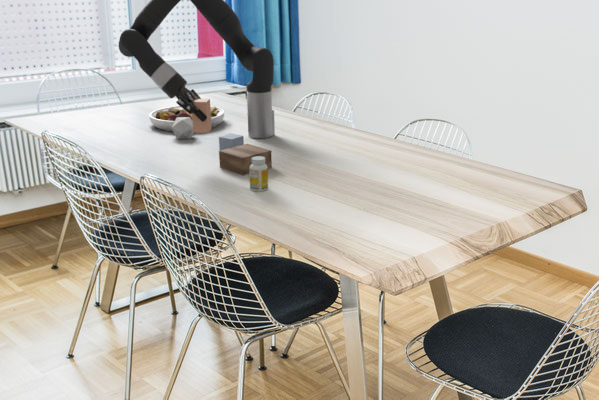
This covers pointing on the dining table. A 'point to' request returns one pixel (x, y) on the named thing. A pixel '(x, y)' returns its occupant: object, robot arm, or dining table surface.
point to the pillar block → (197, 123)
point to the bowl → (168, 116)
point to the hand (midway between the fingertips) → (207, 117)
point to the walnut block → (242, 158)
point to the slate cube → (230, 141)
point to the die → (183, 128)
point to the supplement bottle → (258, 174)
